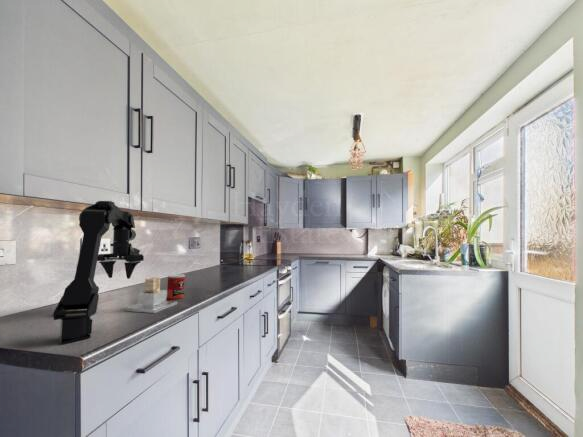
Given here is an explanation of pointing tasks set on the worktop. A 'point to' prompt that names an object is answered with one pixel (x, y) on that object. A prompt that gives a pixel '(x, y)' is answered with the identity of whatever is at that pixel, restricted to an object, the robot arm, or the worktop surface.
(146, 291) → the rail end
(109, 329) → the worktop surface
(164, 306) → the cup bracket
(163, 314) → the worktop surface
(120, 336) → the worktop surface
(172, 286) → the canned food
